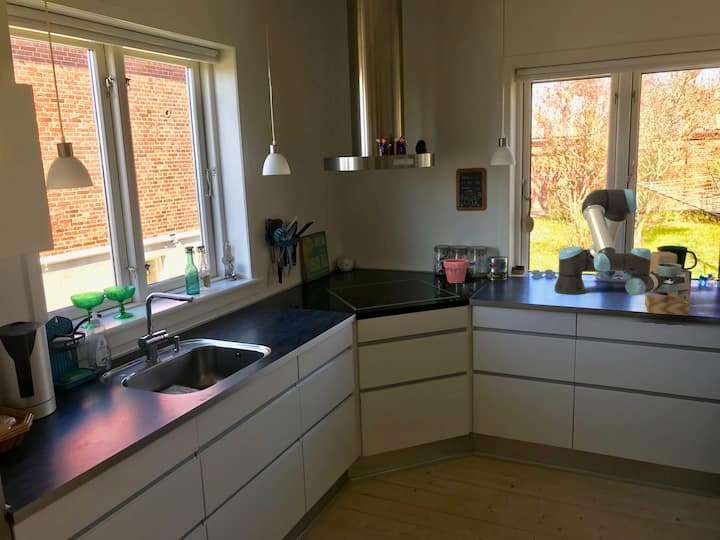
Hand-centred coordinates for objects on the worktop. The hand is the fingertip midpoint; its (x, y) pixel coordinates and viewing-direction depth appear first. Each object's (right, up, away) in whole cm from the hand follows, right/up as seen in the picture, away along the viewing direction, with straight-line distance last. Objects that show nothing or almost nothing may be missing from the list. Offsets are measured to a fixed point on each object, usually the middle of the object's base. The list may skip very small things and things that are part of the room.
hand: (672, 275), depth 274 cm
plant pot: (-87, -5, +72) cm, 113 cm away
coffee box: (+9, -13, +12) cm, 20 cm away
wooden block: (+14, -9, +39) cm, 42 cm away
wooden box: (-3, -16, 0) cm, 16 cm away
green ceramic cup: (-3, -7, -2) cm, 8 cm away
